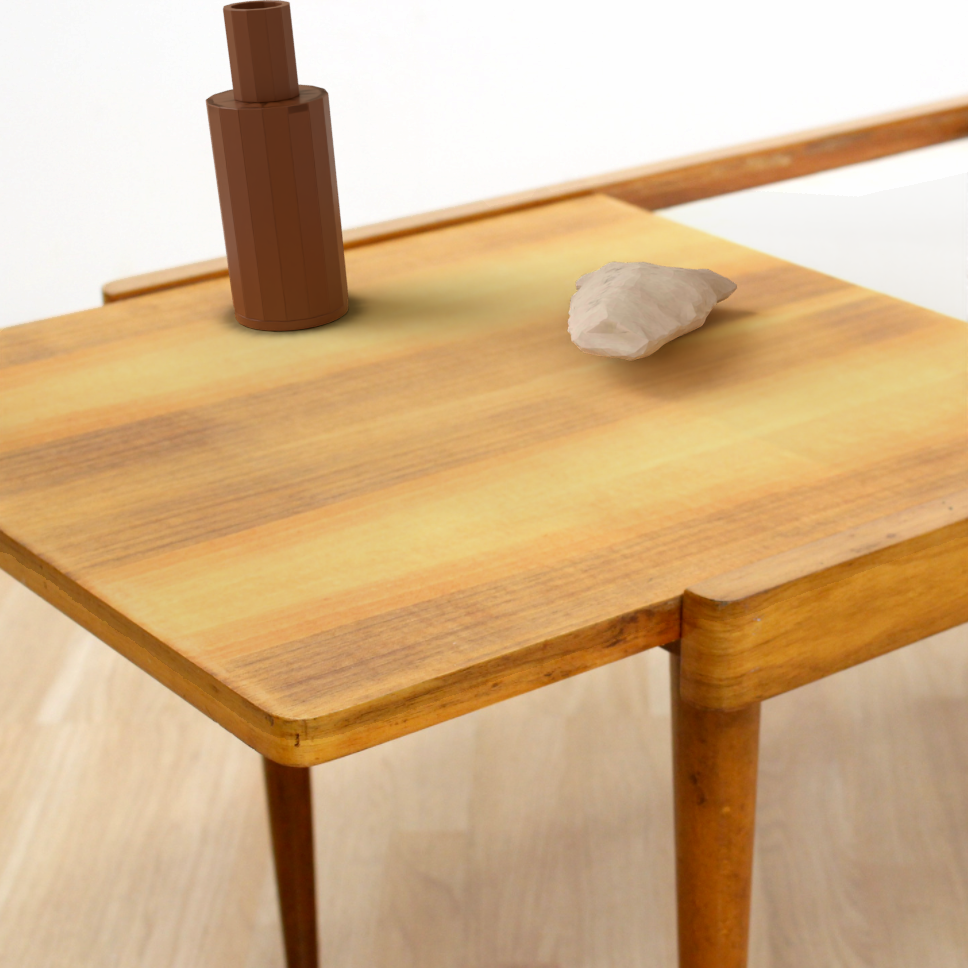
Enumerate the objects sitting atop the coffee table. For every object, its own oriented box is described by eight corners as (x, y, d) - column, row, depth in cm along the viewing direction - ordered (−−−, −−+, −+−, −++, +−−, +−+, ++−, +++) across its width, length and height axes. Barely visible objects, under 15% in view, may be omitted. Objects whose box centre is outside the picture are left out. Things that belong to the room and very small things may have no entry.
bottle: (270, 339, 91) (230, 19, 83) (215, 311, 96) (172, 7, 87) (370, 312, 94) (341, 3, 86) (312, 287, 99) (279, -8, 91)
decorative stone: (742, 239, 91) (693, 323, 78) (739, 309, 93) (691, 402, 80) (580, 228, 93) (508, 308, 80) (581, 297, 95) (510, 386, 82)
